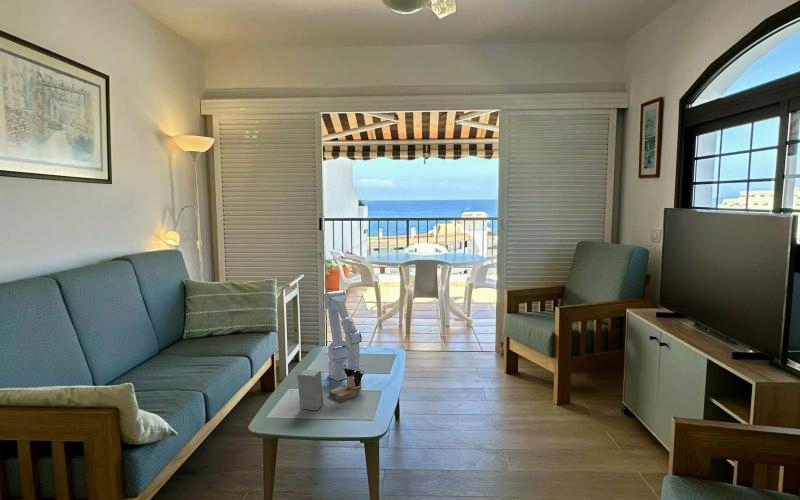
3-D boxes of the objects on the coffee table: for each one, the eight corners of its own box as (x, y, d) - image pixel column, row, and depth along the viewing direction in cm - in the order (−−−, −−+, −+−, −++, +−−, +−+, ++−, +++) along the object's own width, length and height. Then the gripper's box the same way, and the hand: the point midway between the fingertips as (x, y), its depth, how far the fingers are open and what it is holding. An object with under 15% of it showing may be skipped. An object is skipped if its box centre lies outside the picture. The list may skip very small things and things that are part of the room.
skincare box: (323, 405, 200) (322, 370, 199) (315, 412, 194) (314, 375, 192) (306, 402, 203) (305, 367, 202) (298, 409, 196) (296, 373, 195)
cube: (346, 387, 221) (346, 376, 220) (355, 384, 224) (355, 374, 223) (353, 390, 217) (352, 379, 216) (361, 387, 220) (361, 377, 220)
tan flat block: (329, 396, 210) (329, 390, 210) (345, 391, 216) (345, 385, 216) (340, 402, 204) (340, 396, 203) (356, 397, 210) (356, 390, 209)
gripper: (338, 355, 222) (338, 382, 223) (355, 362, 211) (356, 390, 212) (350, 351, 226) (350, 378, 228) (368, 358, 216) (368, 386, 217)
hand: (354, 384), depth 220 cm, fingers closed on cube, 5 cm apart
